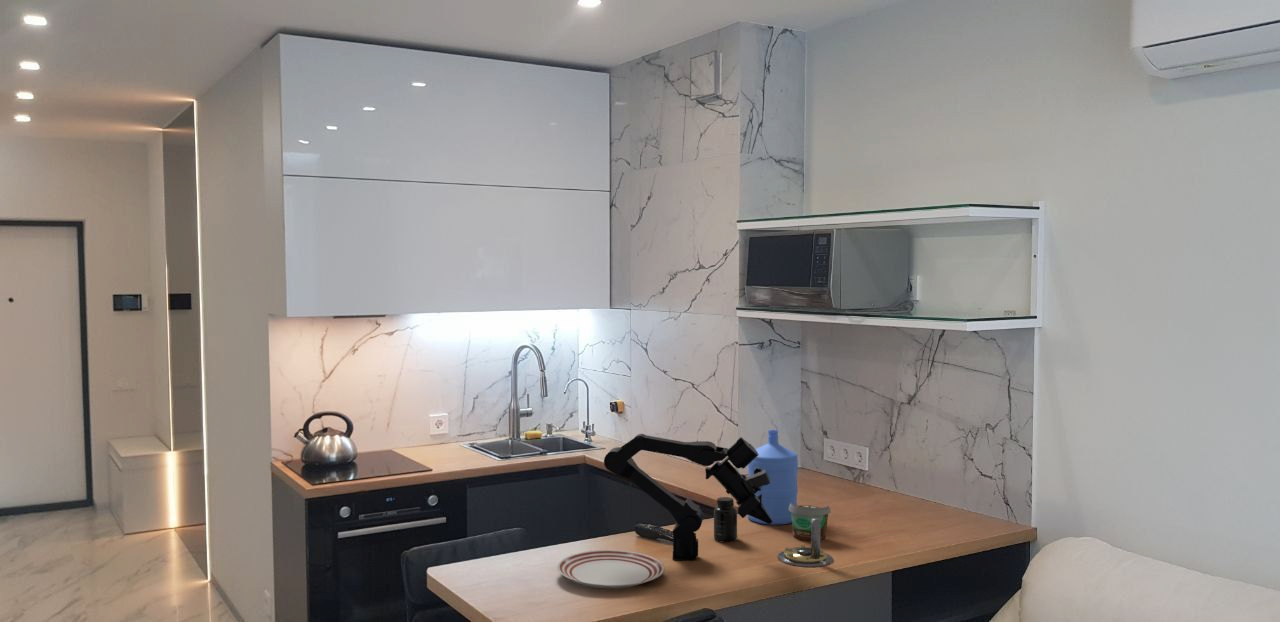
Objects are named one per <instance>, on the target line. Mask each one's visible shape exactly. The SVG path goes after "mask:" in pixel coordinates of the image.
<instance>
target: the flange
mask: <svg viewBox="0 0 1280 622" xmlns="http://www.w3.org/2000/svg"><path fill="white" fill-rule="evenodd" d="M809 548H810V547H808V548H799V549H797V553H798V554H801V555H811V549H809ZM784 551H785V550H783V551H781V552H780V553H778V554H777V559H778V561H780V562H781V561H782V562H781V563H783V562H784V563H783V564H786V565H790V566H794V567H799V568H801V567H802V568H817V567H818V568H820V567H824V566H828V565H830V564H832V563H833V561H834V558H833V556H832V555H830V554H828V553H826V554H827V559H826V560H825V561H822V560H821V561H819V563H798V562H793V561H790V560H787V559H786V558H784Z"/></svg>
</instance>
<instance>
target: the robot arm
mask: <svg viewBox="0 0 1280 622" xmlns="http://www.w3.org/2000/svg"><path fill="white" fill-rule="evenodd" d="M755 449H756V448H755V447H754V446H753V445H752V444H751V443H749V442H748V441H747V440H746V439H744V438H743V437H742V436H741V437H740V436H739V438H737V440H736V441H735V442H734V443H733V444H732V445H731V446H730V447H729V448H727V447H722V446H718V445H716V444H715V442H714V443H713V442H712V441H703V440H702V441H701V440H700V441H698V440H697V441H680V440H675V439H668V438H663V437H658V436H657V437H656V436H653V435H652V436H651V435H646V434H645V433H639V434H637V435H635V436H634V438H632V439H631V440H628V441H627V442H626V443H625V444H623V445H622V446H621V447H619V446H618V447H617V446H616V447H613V448H611V449H610V450H609V451H608V452H607V453H606V454H605V456H604V458H603V464H604V465H603V466H604V467H605V469H606V470H607V471H609V472H611V473H613V474H614V475H616V476H618V477H620V478H623V479H626V480H629V481H630V482H631V483H632V484H634V485H635V486H636V487H637V488H639V489H640V490H641V491H642V492H644V493H645V494H646V495H648V496H649V497H650V498H652V499H653V500H654V501H655V502H657V503H658V504H659V505H660V506H661V507H663V508H664V509H665V510H667V511H668V512H669V513H670V515H671V516H672V518H673V519H674V521H675V525H674V527H673V529H672V538H673V539H672V560H673V561H674V560H675V561H676V560H677V561H679V560H680V561H696V560H697V557H698V556H699V539H698V538H697V531H699V530H700V528H701V526H702V523H703V521H704V514H703V511H702V509H701V508H700V507H701V506H700V505H699V504H697V503H695V502H693V500H692V499H691V498H690V497H687V498H686V500H683V499H681V498H679V497H677V496H676V495H675V494H673V493H672V492H670V491H669V490H668V489H667V488H666V487H664V486H663V485H662V484H661V483H659V482H658V481H656V480H655V479H654V478H653V477H652V476H650V475H649V473H646V471H644V470H642V469H641V468H640V467H639V466H638V465H637V463H636V461H635V460H634V459H633V457H634V456H636V455H637V454H638V453H639V452H641V451H645V452H651V453H656V454H663V455H669V456H673V457H680V458H683V459H686V460H687V461H690V462H691V463H695V464H697V465H699V466H702V467H705V469H704V471H705V479H706V480H709V479H710V478H711V477H712V476H713V478H714V479H716V481H717V482H718V483H719V484H720V485H721V486H722V487H723V488H724V489H725V493H726V494H727V495H729V494H730V496H732V497H731V498H733V500H735V501H736V503H735V504H737V505H738V507H737V515H739V516H740V517H741V518H742V519H744V518H745V517H746V516H747V515H750V516H752V517H755V518H757V519H759V520H761V521H764V522H766V523H768V524H770V523H772V519H771V517H770V516H769V514H768V512H767V511H766V509H765V507H764V505H763V504H762V494H760V495H759V496H758V497H757V496H756V494H755V493H756V492H757V491H758V490H759V491H760V490H761V486H764V485H765V486H766V485H768V484H770V479H769V476H768V474H767V472H766V470H765V469H764V470H762V469H761V468H759V467H758V468H755V469H754V474H752V475H751V476H749V477H748V476H746V475H745V474H744V473H742V474H741V473H740V472H739V471H738V470H737V469H739V470H740V469H742V470H743V469H745V468H746V467H748V464H749V463H751V462H752V461H753V460H754V459H755V458H756V457H757V456H758V455H759V454H758V452H757V451H756V450H755ZM710 466H711V467H710ZM768 524H767V525H768Z"/></svg>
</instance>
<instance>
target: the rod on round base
mask: <svg viewBox="0 0 1280 622" xmlns="http://www.w3.org/2000/svg"><path fill="white" fill-rule="evenodd" d="M820 523H821V519H819V518H812V519H811V542H810V547H807V546H806V545H805V544H804V545H800V546H799V547H798V546H797V547H785V548H784V550H783V551H784V558H786V559H787V560H790V561H793V562H798V563H819V561H821V560H822V561H825V560H826V559H827V554H828V553H827V552H826V551H824V549H823V548H821V541H820ZM799 548H809V549H811V555H801V554H798V553H797V549H799Z"/></svg>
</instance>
